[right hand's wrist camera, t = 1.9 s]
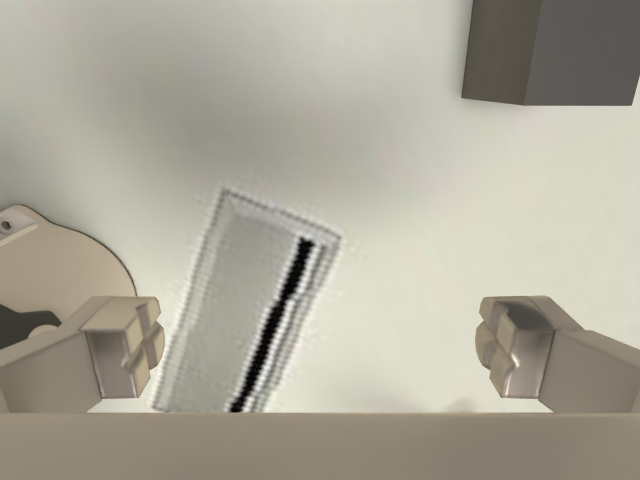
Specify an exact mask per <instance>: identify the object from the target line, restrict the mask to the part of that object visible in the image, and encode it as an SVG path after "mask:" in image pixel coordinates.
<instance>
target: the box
mask: <svg viewBox="0 0 640 480" xmlns="http://www.w3.org/2000/svg"><path fill="white" fill-rule="evenodd" d="M639 76H640V0H474V1H473V9H472V17H471V26H470V34H469V42H468V50H467V58H466V67H465V75H464V83H463V91H462V98H465V99H474V100H482V101H490V102H499V103H507V104H516V105H536V106H631V105H632V102H633V99H634V95H635V91H636V87H637V84H638V80H639Z"/></svg>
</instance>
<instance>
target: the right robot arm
mask: <svg viewBox="0 0 640 480" xmlns="http://www.w3.org/2000/svg"><path fill="white" fill-rule="evenodd" d="M7 222H8V223H9V224H10V225H11V227H10V226H8V224H7ZM160 313H161V311H160V306H159V301H158V300H157V299H156V297H141V296H136V293H135V289H134V286H133V283H132V281H131V279H130V277H129V275H128V273H127V272H126V270H125V268H124V267H123V266H122V264H121V263H120V262H119V260H118V259H117V258H116V257H115V256H114V255H113V254H112V253H111V252H110V251H109V250H107V249H106V248H105V247H104V246H102V245H101V244H100V243H98V242H97V241H95V240H93V239H92V238H90V237H88V236H86V235H84V234H81V233H79V232H76V231H74V230H71V229H67V228H64V227H60V226H57V225H55V224H52V223H50V222H48V221H47V220H46V219H44V218H43V217H41V216H40V215H39V214H37V213H36V212H34V211H33V210H31V209H29V208H27V207H25V206H22V205H14V206H11V207H9V208H7V209H5V210H4V211H2V212H0V480H640V350H639V349H636V348H634V347H631V346H629V345H626V344H624V343H621V342H619V341H616V340H614V339H612V338H609V337H607V336H604V335H602V334H599V333H597V332H594V331H585V330H584V329H583V328H582V327H581V326H580V325H579V324H578V323H577V322H576V321H575V320H574V319H572V318H571V317H570V316H569V315H568V314H567V313H566V312H565V311H564V310H563V309H562V308H561V307H560V306H558V305H557V304H556V303H555V302H554V301H553V300H552V299H551V298H550V297H547V296H505V297H485V298H483V300H482V302H481V305H480V310H479V313H480V315H481V316H482V318H483V319H484V321H483V322H482V323H481V324H480V325H479V326H478V327H477V329H476V337H475V344H476V352H477V355H478V358H479V360H480V362H481V364H482V365H483V366H484V367H486V368H487V369H489V370H491V372H490V380H491V381H492V383H493V385H494V386H495V388H496V390H497V392H498V393H499V395H500V397H501V398H526V399H539V400H538V401H540V402H541V403H543V404H544V405H545V406H547V407H548V408H549V409H551V410H552V411H553V412H555V413H86V412H87V411H88V410H90V409H91V408H92V407H94V406H95V405H96V404H98V403H99V402H100V401H101V399H114V398H139V397H140V395H141V393H142V392H143V390H144V388H145V386H146V385H147V383H148V381H149V380H150V372H149V370H151V369H153V368H154V367H156V366H157V365H158V364H159V362H160V360H161V358H162V355H163V351H164V347H165V335H164V329H163V327H162V326H161V325H160V324H159V323H158V322H157V321H156V319H157V318H158V316H159V315H160Z"/></svg>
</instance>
